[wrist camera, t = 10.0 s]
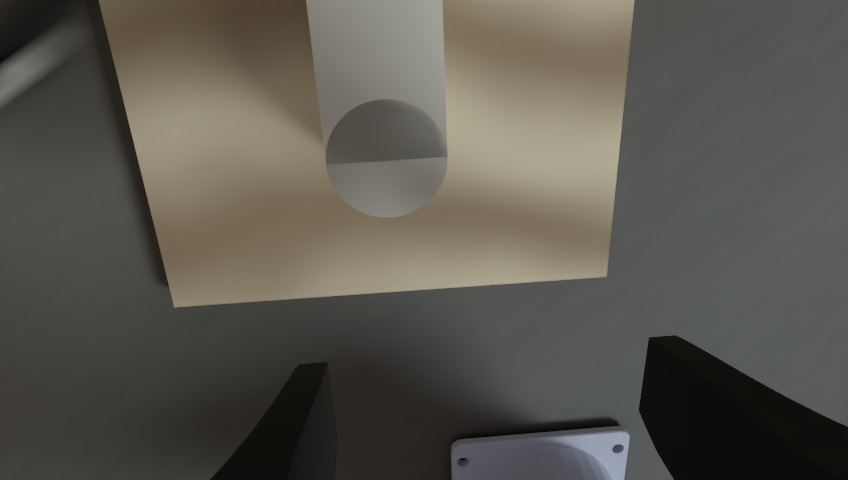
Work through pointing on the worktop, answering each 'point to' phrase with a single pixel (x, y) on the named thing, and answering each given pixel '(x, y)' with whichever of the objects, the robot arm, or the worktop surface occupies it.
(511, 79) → the wood pad
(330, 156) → the usb connector
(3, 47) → the worktop surface
